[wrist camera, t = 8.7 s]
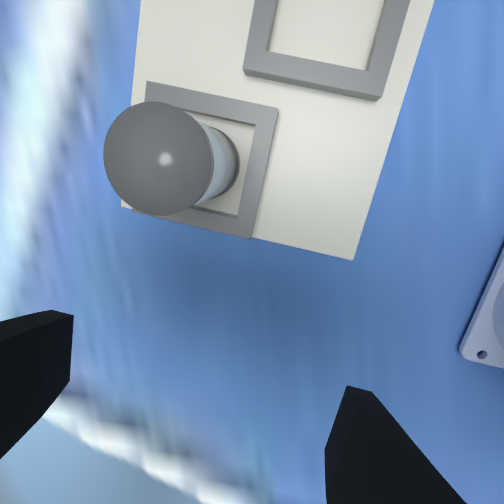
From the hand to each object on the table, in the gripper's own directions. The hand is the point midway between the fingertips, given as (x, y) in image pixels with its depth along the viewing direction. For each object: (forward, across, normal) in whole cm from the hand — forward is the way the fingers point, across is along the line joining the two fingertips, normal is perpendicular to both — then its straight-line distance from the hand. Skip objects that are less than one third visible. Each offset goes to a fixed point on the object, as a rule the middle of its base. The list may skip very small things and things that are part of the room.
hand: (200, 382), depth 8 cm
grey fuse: (+9, +3, -5) cm, 10 cm away
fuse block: (+10, +1, -8) cm, 13 cm away
